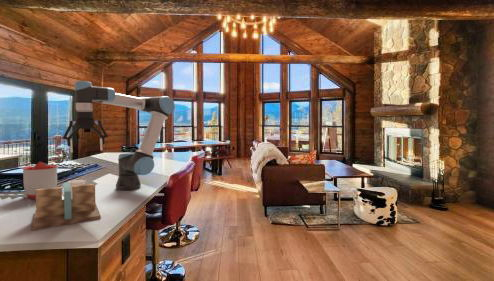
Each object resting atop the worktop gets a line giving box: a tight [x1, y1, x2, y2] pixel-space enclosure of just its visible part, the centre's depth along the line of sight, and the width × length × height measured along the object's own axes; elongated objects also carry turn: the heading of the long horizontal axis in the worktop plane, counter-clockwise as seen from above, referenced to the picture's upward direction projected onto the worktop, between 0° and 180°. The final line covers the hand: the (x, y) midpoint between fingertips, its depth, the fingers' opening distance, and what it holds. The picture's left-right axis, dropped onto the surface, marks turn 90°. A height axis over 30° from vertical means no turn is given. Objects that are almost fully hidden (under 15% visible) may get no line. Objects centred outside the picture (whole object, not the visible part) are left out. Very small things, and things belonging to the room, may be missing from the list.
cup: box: [60, 179, 86, 199], centre depth 144 cm, size 8×12×10 cm
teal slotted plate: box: [63, 181, 72, 220], centre depth 119 cm, size 2×20×12 cm, turn 35°
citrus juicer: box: [22, 161, 58, 200], centre depth 149 cm, size 16×17×20 cm
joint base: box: [30, 183, 102, 231], centre depth 119 cm, size 24×24×14 cm
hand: (87, 151), depth 139 cm, fingers open, 13 cm apart
